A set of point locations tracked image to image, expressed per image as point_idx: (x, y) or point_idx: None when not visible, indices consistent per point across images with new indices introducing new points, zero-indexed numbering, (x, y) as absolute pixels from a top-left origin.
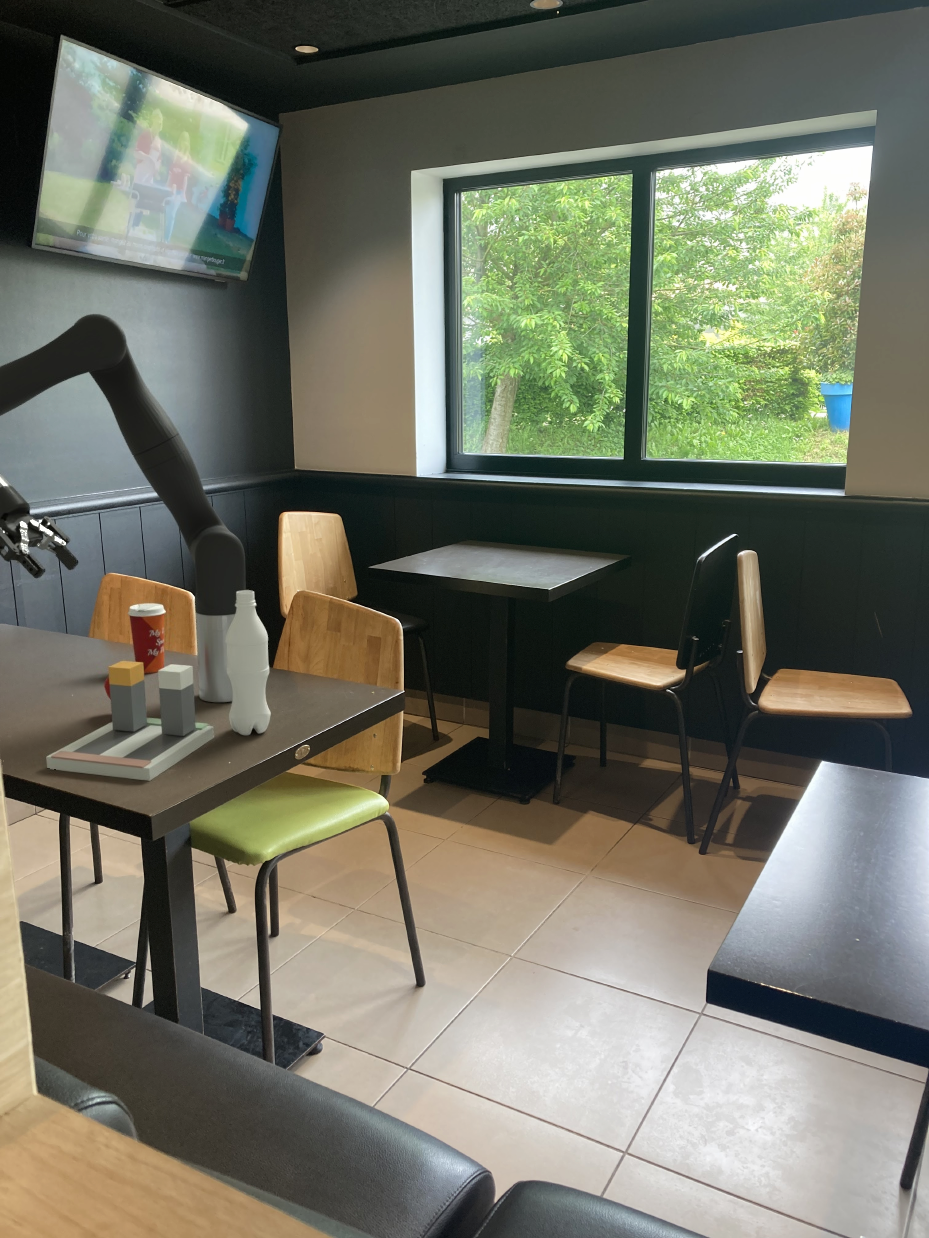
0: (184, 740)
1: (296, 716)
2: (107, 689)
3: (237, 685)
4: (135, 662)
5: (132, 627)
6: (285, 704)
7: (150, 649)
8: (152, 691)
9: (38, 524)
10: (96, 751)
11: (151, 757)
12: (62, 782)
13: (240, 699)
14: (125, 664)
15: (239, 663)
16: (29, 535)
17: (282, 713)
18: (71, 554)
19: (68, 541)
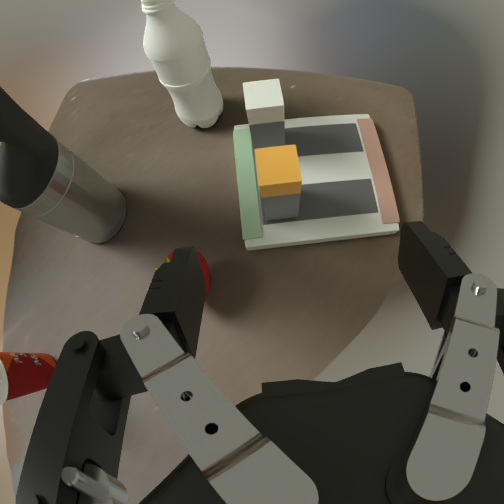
0: (287, 126)
1: (149, 106)
2: (206, 293)
3: (210, 77)
4: (259, 159)
5: (18, 390)
6: (115, 137)
7: (34, 362)
8: (108, 313)
9: (234, 471)
10: (362, 187)
11: (346, 126)
12: (410, 192)
13: (214, 86)
14: (277, 165)
15: (207, 52)
16: (387, 405)
17: (143, 121)
18: (171, 272)
19: (91, 334)
